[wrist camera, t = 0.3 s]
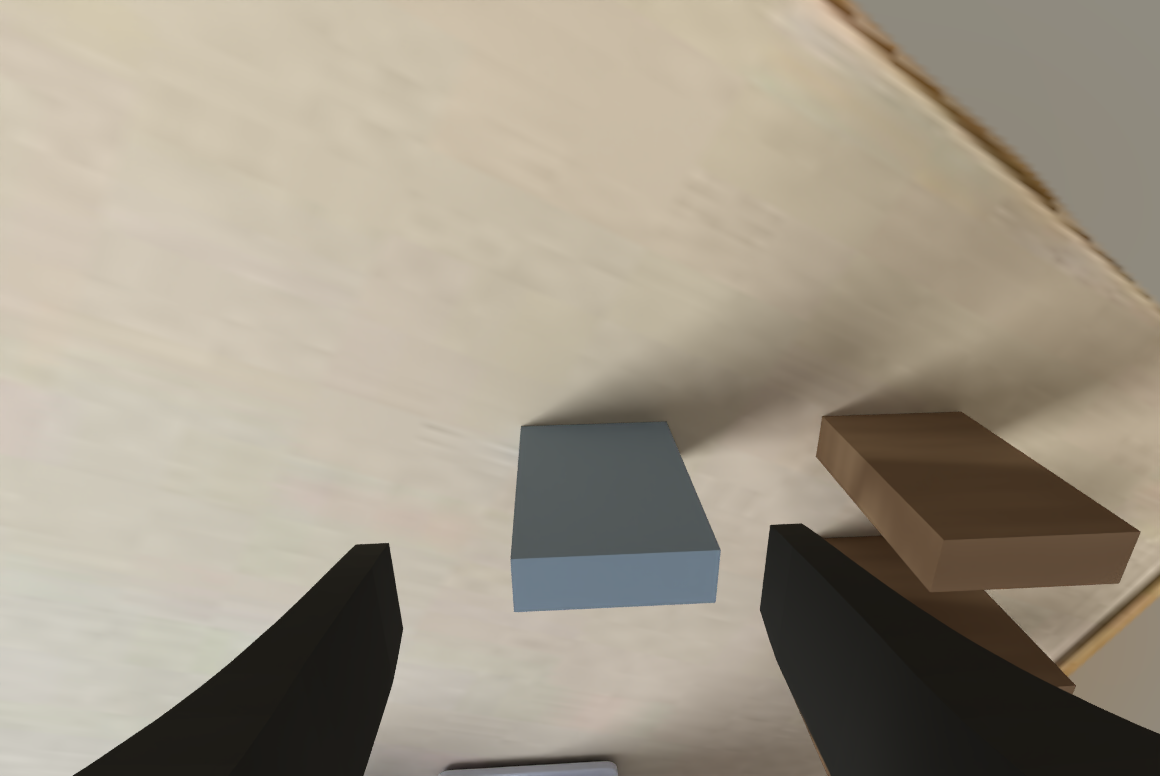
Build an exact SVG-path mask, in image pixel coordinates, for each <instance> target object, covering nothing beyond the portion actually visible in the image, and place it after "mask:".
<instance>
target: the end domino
mask: <svg viewBox="0 0 1160 776" xmlns="http://www.w3.org/2000/svg"><path fill="white" fill-rule="evenodd" d="M720 551H721V550H720V547H719V545H718V543H717V540H716V538H715V536H714V533H713V531H712V529H711V526H710V524H709V521H708V519H707V517H706V514H705V512H704V510H703V507H702V505H701V502H700V500H699V498H698V495H697V493H696V491H695V488H694V486H693V484H692V481H691V479H690V476H689V474H688V472H687V469H686V467H685V465H684V462H683V460H682V457H681V455H680V453H679V450H678V448H677V446H676V443H675V441H674V439H673V436H672V434H671V431H670V429H669V427H668V424H667V422H637V423H607V424H577V425H547V426H521V433H520V446H519V459H518V471H517V484H516V497H515V509H514V522H513V535H512V548H511V573H512V588H513V603H514V612H527V611H548V610H569V609H591V608H612V607H633V606H654V605H675V604H696V603H715V602H716V592H717V582H718V572H719V562H720Z"/></svg>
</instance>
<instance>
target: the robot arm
mask: <svg viewBox="0 0 1160 776" xmlns="http://www.w3.org/2000/svg"><path fill="white" fill-rule="evenodd" d="M760 611H761V615H762V618H763V621H764V624H765V627H766V631H767V634H768V637H769V640H770V643H771V646H772V649H773V652H774V655H775V657H776V660H777V662H778V665H779V667H780V669H781V671H782V674H783V676H784V678H785V680H786V682H787V684H788V686H789V689H790V691H791V693H792V695H793V697H794V699H795V701H796V704H797V706H798V708H799V710H800V712H801V714H802V716H803V718H804V720H805V722H806V725H807V727H808V729H809V731H810V733H811V735H812V737H813V739H814V741H815V744H816V746H817V748H818V750H819V752H820V754H821V756H822V758H823V760H824V762H825V765H826V767H827V769H828V771H829V773H830V775H831V776H1160V734H1158V733H1156V732H1153V731H1151V730H1149V729H1146V728H1144V727H1141V726H1139V725H1137V724H1135V723H1132V722H1130V721H1128V720H1126V719H1124V718H1121V717H1119V716H1117V715H1115V714H1112V713H1110V712H1108V711H1105V710H1104V709H1101V708H1099V707H1097V706H1095V705H1093V704H1091V703H1088V702H1087V701H1085V700H1083V699H1081V698H1079V697H1076V696H1074V695H1072V694H1070V693H1068V692H1066V691H1064V690H1062V689H1060V688H1058V687H1056V686H1054V685H1052V684H1050V683H1048V682H1046V681H1044V680H1042V679H1040V678H1038V677H1036V676H1034V675H1032V674H1030V673H1028V672H1027V671H1025V670H1023V669H1021V668H1019V667H1017V666H1015V665H1014V664H1012V663H1010V662H1008V661H1006V660H1005V659H1003V658H1001V657H999V656H998V655H996V654H994V653H992V652H991V651H989V650H987V649H985V648H983V647H982V646H980V645H978V644H976V643H975V642H973V641H971V640H970V639H968V638H966V637H965V636H963V635H961V634H960V633H958V632H956V631H955V630H953V629H951V628H950V627H948V626H947V625H945V624H944V623H942V622H941V621H939V620H938V619H936V618H934V617H933V616H931V615H930V614H928V613H927V612H925V611H924V610H922V609H921V608H919V607H917V606H916V605H915V604H913V603H912V602H910V601H909V600H907V599H906V598H904V597H903V596H901V595H900V594H898V593H897V592H896V591H894V590H893V589H891V588H890V587H888V586H887V585H886V584H884V583H883V582H881V581H880V580H879V579H877V578H876V577H875V576H873V575H872V574H870V573H869V572H868V571H866V570H865V569H864V568H862V567H861V566H859V565H858V564H857V563H855V562H854V561H853V560H851V559H850V558H849V557H847V556H846V555H845V554H843V553H842V552H841V551H839V550H838V549H837V548H835V547H834V546H833V545H831V544H830V543H829V542H827V541H826V540H824V539H823V538H822V537H820V536H819V535H818V534H816V533H815V532H813V531H812V530H811V529H809V528H808V527H806V526H805V525H803V524H781V525H770V531H769V539H768V548H767V556H766V564H765V572H764V580H763V589H762V597H761V605H760ZM402 632H403V625H402V619H401V613H400V607H399V601H398V595H397V589H396V583H395V577H394V571H393V565H392V559H391V553H390V547H389V543H380V544H359V545H355V546H354V547H353V548H352V549H351V550H350V551H349V552H348V553H346V554H345V555H344V556H343V557H342V558H341V559H340V560H339V561H338V562H337V563H336V564H335V565H334V566H333V567H332V568H331V569H330V570H329V571H328V572H327V573H326V574H325V575H324V576H323V577H322V578H321V579H320V580H319V581H318V582H317V583H316V584H315V585H314V586H313V587H312V588H311V589H310V590H309V591H308V592H307V593H306V594H305V595H304V596H303V597H302V598H301V599H300V600H299V601H298V602H297V603H296V604H295V605H294V606H293V607H292V608H290V609H289V610H288V611H287V612H286V613H285V614H284V615H283V616H282V617H281V618H280V619H279V620H278V621H277V622H276V623H275V624H274V625H272V626H271V627H270V628H269V629H268V630H267V631H266V632H264V633H263V634H262V635H261V636H260V637H259V638H258V639H257V640H255V641H254V642H253V643H252V644H251V645H250V646H249V647H247V648H246V649H245V650H244V651H243V652H242V653H241V654H240V655H238V656H237V657H236V658H235V659H234V660H233V661H232V662H230V663H229V664H228V665H227V666H226V667H224V668H223V669H222V670H221V671H220V672H218V673H217V674H216V675H215V676H213V677H212V678H211V679H210V680H208V681H207V682H206V683H205V684H203V685H202V686H201V687H200V688H198V689H197V690H196V691H194V692H193V693H192V694H190V695H189V696H188V697H186V698H185V699H184V700H182V701H181V702H180V703H178V704H177V705H176V706H174V707H173V708H172V709H170V710H169V711H168V712H166V713H165V714H164V715H162V716H161V717H159V718H158V719H157V720H155V721H154V722H152V723H151V724H149V725H148V726H146V727H145V728H143V729H142V730H141V731H139V732H138V733H136V734H135V735H133V736H132V737H130V738H129V739H127V740H126V741H124V742H123V743H121V744H120V745H118V746H117V747H115V748H114V749H112V750H111V751H109V752H108V753H107V754H105V755H104V756H102V757H101V758H99V759H98V760H96V761H95V762H93V763H92V764H90V765H89V766H87V767H86V768H84V769H82V770H81V771H79V772H78V773H76V774H74V775H73V776H363V775H364V772H365V769H366V766H367V763H368V760H369V757H370V754H371V751H372V747H373V744H374V741H375V738H376V735H377V732H378V729H379V726H380V722H381V719H382V716H383V713H384V710H385V706H386V703H387V700H388V697H389V694H390V690H391V687H392V684H393V679H394V674H395V670H396V665H397V660H398V654H399V649H400V643H401V637H402ZM438 776H618V771H617V766H616V764H615V763H613V762H610V761H597V762H580V763H563V764H546V765H529V766H512V767H495V768H478V769H461V770H447V771H443V772H441V773H440V774H439V775H438Z"/></svg>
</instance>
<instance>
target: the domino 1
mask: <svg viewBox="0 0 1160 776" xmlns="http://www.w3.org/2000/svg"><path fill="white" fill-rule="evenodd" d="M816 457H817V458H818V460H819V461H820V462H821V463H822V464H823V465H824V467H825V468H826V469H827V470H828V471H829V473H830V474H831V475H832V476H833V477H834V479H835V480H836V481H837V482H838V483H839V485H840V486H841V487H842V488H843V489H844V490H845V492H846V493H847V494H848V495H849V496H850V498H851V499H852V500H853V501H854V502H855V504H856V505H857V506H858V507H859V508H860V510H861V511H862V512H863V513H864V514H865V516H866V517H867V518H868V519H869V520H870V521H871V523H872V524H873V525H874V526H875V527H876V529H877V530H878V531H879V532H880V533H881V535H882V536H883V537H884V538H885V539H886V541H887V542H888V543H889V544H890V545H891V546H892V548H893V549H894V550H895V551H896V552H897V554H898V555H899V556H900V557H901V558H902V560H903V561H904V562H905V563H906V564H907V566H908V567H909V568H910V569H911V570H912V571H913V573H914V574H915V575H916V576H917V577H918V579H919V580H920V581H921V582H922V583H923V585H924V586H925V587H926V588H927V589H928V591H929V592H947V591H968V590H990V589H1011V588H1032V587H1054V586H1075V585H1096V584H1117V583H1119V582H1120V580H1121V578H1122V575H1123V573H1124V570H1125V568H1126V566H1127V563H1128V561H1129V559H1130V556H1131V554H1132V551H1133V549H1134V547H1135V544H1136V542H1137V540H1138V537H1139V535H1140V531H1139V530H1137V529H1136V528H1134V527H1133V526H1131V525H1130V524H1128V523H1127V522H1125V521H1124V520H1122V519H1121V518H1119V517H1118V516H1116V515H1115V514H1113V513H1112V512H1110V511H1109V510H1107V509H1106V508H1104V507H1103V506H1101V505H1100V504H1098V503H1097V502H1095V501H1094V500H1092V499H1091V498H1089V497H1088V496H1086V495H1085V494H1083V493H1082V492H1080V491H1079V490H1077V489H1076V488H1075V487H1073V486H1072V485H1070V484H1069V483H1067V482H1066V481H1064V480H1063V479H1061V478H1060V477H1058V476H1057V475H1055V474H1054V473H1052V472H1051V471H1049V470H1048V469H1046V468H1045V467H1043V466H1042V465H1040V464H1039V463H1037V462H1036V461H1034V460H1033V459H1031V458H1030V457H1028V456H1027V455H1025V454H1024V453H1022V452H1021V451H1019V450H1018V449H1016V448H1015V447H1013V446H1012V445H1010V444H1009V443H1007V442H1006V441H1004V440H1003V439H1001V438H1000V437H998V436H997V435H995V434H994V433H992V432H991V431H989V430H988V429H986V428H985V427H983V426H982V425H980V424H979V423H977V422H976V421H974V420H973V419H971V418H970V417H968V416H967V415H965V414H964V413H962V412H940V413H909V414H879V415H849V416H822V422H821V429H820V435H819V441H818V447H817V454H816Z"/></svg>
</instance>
